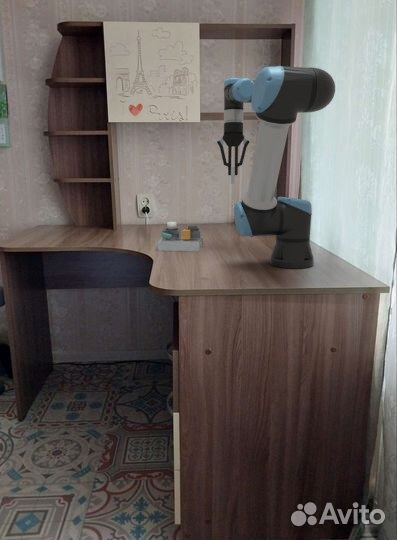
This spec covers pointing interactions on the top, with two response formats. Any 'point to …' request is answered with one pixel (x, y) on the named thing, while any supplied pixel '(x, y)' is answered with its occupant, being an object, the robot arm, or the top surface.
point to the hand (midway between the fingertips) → (232, 183)
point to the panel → (181, 241)
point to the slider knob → (186, 234)
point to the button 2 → (192, 228)
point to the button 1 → (172, 225)
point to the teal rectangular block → (166, 235)
